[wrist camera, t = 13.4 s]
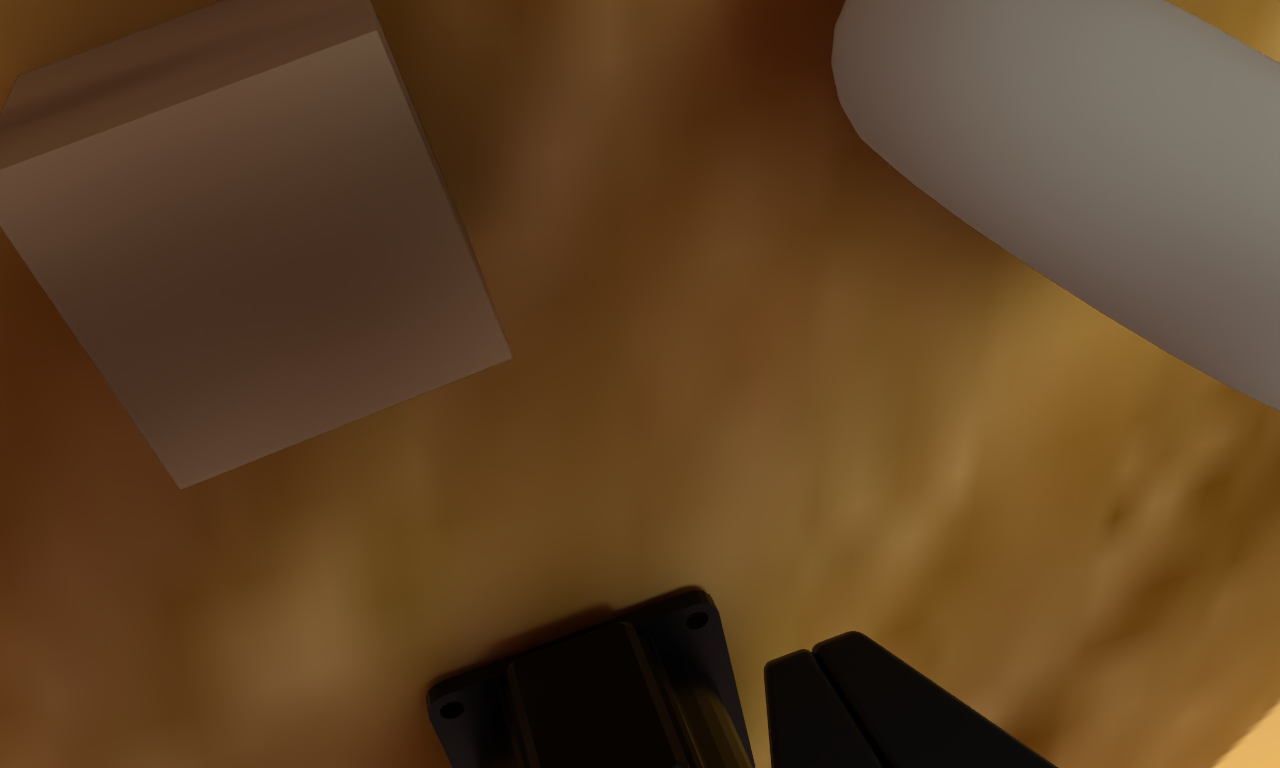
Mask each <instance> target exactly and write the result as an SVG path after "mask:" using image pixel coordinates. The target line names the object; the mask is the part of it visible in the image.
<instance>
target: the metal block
mask: <svg viewBox="0 0 1280 768" xmlns="http://www.w3.org/2000/svg"><path fill="white" fill-rule="evenodd" d="M0 227H1V228H2V230H3V231H4V233H5V234H6V236H7V237H8V238H9V240H10V241H11V243H12V244H13V246H14V247H15V249H16V250H17V252H18V253H19V255H20V256H21V258H22V259H23V260H24V262H25V263H26V265H27V266H28V268H29V269H30V271H31V272H32V274H33V275H34V277H35V278H36V280H37V281H38V282H39V284H40V285H41V287H42V288H43V290H44V291H45V293H46V294H47V296H48V297H49V299H50V300H51V301H52V303H53V304H54V306H55V307H56V309H57V310H58V312H59V313H60V315H61V316H62V318H63V319H64V321H65V322H66V323H67V325H68V326H69V328H70V329H71V331H72V332H73V334H74V335H75V337H76V338H77V340H78V341H79V343H80V344H81V345H82V347H83V348H84V350H85V351H86V353H87V354H88V356H89V357H90V359H91V360H92V362H93V363H94V364H95V366H96V367H97V369H98V370H99V372H100V373H101V375H102V376H103V378H104V379H105V381H106V382H107V384H108V385H109V386H110V388H111V389H112V391H113V392H114V394H115V395H116V397H117V398H118V400H119V401H120V403H121V404H122V406H123V407H124V408H125V410H126V411H127V413H128V414H129V416H130V417H131V419H132V420H133V422H134V423H135V425H136V426H137V428H138V429H139V430H140V432H141V433H142V435H143V436H144V438H145V439H146V441H147V442H148V444H149V445H150V447H151V448H152V449H153V451H154V452H155V454H156V455H157V457H158V458H159V460H160V461H161V463H162V464H163V466H164V467H165V469H166V470H167V471H168V473H169V474H170V476H171V477H172V479H173V480H174V482H175V483H176V485H177V486H178V488H179V489H180V490H182V489H184V488H187V487H189V486H192V485H194V484H197V483H199V482H202V481H204V480H207V479H209V478H212V477H214V476H217V475H220V474H222V473H225V472H227V471H230V470H232V469H235V468H237V467H240V466H242V465H245V464H247V463H250V462H252V461H255V460H257V459H260V458H262V457H265V456H267V455H270V454H273V453H275V452H278V451H280V450H283V449H285V448H288V447H290V446H293V445H295V444H298V443H300V442H303V441H305V440H308V439H310V438H313V437H315V436H318V435H320V434H323V433H326V432H328V431H331V430H333V429H336V428H338V427H341V426H343V425H346V424H348V423H351V422H353V421H356V420H358V419H361V418H363V417H366V416H368V415H371V414H373V413H376V412H379V411H381V410H384V409H386V408H389V407H391V406H394V405H396V404H399V403H401V402H404V401H406V400H409V399H411V398H414V397H416V396H419V395H421V394H424V393H426V392H429V391H432V390H434V389H437V388H439V387H442V386H444V385H447V384H449V383H452V382H454V381H457V380H459V379H462V378H464V377H467V376H469V375H472V374H474V373H477V372H479V371H482V370H485V369H487V368H490V367H492V366H495V365H497V364H500V363H502V362H505V361H507V360H510V359H512V358H513V356H512V354H511V351H510V348H509V346H508V343H507V340H506V337H505V335H504V332H503V329H502V327H501V324H500V321H499V319H498V316H497V313H496V310H495V308H494V305H493V302H492V300H491V297H490V294H489V292H488V289H487V286H486V283H485V281H484V278H483V275H482V273H481V270H480V267H479V265H478V262H477V259H476V256H475V254H474V251H473V248H472V246H471V243H470V240H469V238H468V236H467V233H466V231H465V228H464V226H463V223H462V221H461V219H460V216H459V214H458V211H457V209H456V207H455V204H454V202H453V199H452V197H451V194H450V192H449V190H448V187H447V185H446V182H445V180H444V177H443V175H442V173H441V170H440V168H439V165H438V163H437V161H436V158H435V156H434V153H433V151H432V148H431V146H430V144H429V141H428V139H427V136H426V134H425V131H424V129H423V127H422V124H421V122H420V119H419V117H418V114H417V112H416V110H415V107H414V105H413V102H412V100H411V98H410V95H409V93H408V90H407V88H406V85H405V83H404V81H403V78H402V76H401V73H400V71H399V68H398V66H397V64H396V61H395V59H394V56H393V54H392V51H391V49H390V47H389V44H388V42H387V39H386V37H385V35H384V32H383V30H382V27H381V25H380V22H379V20H378V18H377V15H376V13H375V10H374V8H373V5H372V3H371V1H370V0H223V1H220V2H217V3H215V4H212V5H209V6H206V7H204V8H201V9H198V10H196V11H193V12H190V13H187V14H185V15H182V16H179V17H176V18H174V19H171V20H168V21H166V22H163V23H160V24H157V25H155V26H152V27H149V28H146V29H144V30H141V31H138V32H136V33H133V34H130V35H127V36H125V37H122V38H119V39H116V40H114V41H111V42H108V43H106V44H103V45H100V46H97V47H95V48H92V49H89V50H86V51H84V52H81V53H78V54H76V55H73V56H70V57H67V58H65V59H62V60H59V61H56V62H54V63H51V64H48V65H46V66H43V67H40V68H37V69H35V70H32V71H29V72H26V73H24V74H21V75H18V77H17V79H16V81H15V83H14V86H13V88H12V90H11V92H10V94H9V96H8V99H7V101H6V103H5V105H4V107H3V110H2V112H1V114H0Z"/></svg>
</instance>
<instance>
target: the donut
mask: <svg viewBox="0 0 1280 768" xmlns="http://www.w3.org/2000/svg"><path fill="white" fill-rule="evenodd" d="M831 66H832V70H833V75H834V80H835V85H836V89H837V94H838V98H839V101H840V104H841V106H842V108H843V110H844V112H845V113H846V115H847V117H848V118H849V120H850V122H851V123H852V125H853V127H854V129H855V130H856V132H857V134H858V135H859V137H860V139H862V140H863V141H864V142H865V143H866V144H867V145H868V146H869V147H871V148H872V149H873V150H874V151H875V152H876V153H877V154H879V155H880V156H881V157H882V158H883V159H884V160H885V161H886V162H888V163H889V164H890V165H891V166H892V167H894V168H895V169H896V170H897V171H898V172H900V173H901V174H902V175H903V176H904V177H906V178H907V179H908V180H909V181H910V182H911V183H913V184H914V185H915V186H917V187H918V188H919V189H921V190H922V191H923V192H925V193H926V194H927V195H929V196H930V197H931V198H933V199H934V200H935V201H937V202H938V203H939V204H941V205H942V206H943V207H945V208H946V209H947V210H949V211H950V212H951V213H953V214H954V215H955V216H957V217H958V218H959V219H961V220H962V221H964V222H965V223H967V224H968V225H970V226H971V227H972V228H974V229H975V230H977V231H978V232H980V233H981V234H983V235H984V236H986V237H987V238H988V239H990V240H991V241H993V242H994V243H996V244H997V245H999V246H1000V247H1002V248H1003V249H1004V250H1006V251H1007V252H1009V253H1010V254H1012V255H1013V256H1015V257H1016V258H1018V259H1019V260H1021V261H1022V262H1023V263H1025V264H1026V265H1028V266H1030V267H1031V268H1033V269H1034V270H1036V271H1037V272H1039V273H1040V274H1042V275H1044V276H1045V277H1047V278H1048V279H1050V280H1051V281H1053V282H1054V283H1056V284H1058V285H1059V286H1061V287H1062V288H1064V289H1065V290H1067V291H1068V292H1070V293H1072V294H1073V295H1075V296H1076V297H1078V298H1079V299H1081V300H1082V301H1084V302H1086V303H1087V304H1089V305H1090V306H1092V307H1093V308H1095V309H1096V310H1098V311H1100V312H1101V313H1103V314H1105V315H1106V316H1108V317H1109V318H1111V319H1113V320H1114V321H1116V322H1118V323H1119V324H1121V325H1123V326H1124V327H1126V328H1128V329H1129V330H1131V331H1133V332H1134V333H1136V334H1138V335H1139V336H1141V337H1143V338H1144V339H1146V340H1148V341H1149V342H1151V343H1153V344H1154V345H1156V346H1158V347H1159V348H1161V349H1163V350H1164V351H1166V352H1168V353H1169V354H1171V355H1173V356H1174V357H1176V358H1178V359H1180V360H1182V361H1184V362H1185V363H1187V364H1189V365H1191V366H1193V367H1194V368H1196V369H1198V370H1200V371H1202V372H1203V373H1205V374H1207V375H1209V376H1211V377H1212V378H1214V379H1216V380H1218V381H1220V382H1222V383H1223V384H1225V385H1227V386H1229V387H1231V388H1233V389H1235V390H1237V391H1239V392H1241V393H1243V394H1245V395H1247V396H1249V397H1251V398H1253V399H1255V400H1257V401H1259V402H1261V403H1263V404H1266V405H1268V406H1270V407H1272V408H1274V409H1276V410H1279V411H1280V63H1278V62H1276V61H1275V60H1273V59H1271V58H1269V57H1268V56H1266V55H1264V54H1262V53H1260V52H1259V51H1257V50H1255V49H1253V48H1252V47H1250V46H1248V45H1246V44H1244V43H1243V42H1241V41H1239V40H1237V39H1236V38H1234V37H1232V36H1230V35H1229V34H1227V33H1225V32H1223V31H1221V30H1220V29H1218V28H1216V27H1214V26H1213V25H1211V24H1209V23H1207V22H1206V21H1204V20H1202V19H1200V18H1198V17H1196V16H1194V15H1192V14H1190V13H1188V12H1186V11H1184V10H1183V9H1181V8H1179V7H1177V6H1175V5H1173V4H1171V3H1169V2H1167V1H1165V0H846V1H845V3H844V5H843V8H842V10H841V13H840V15H839V17H838V20H837V22H836V25H835V27H834V38H833V48H832V58H831Z"/></svg>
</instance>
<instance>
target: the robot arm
mask: <svg viewBox="0 0 1280 768" xmlns="http://www.w3.org/2000/svg"><path fill="white" fill-rule="evenodd" d="M695 612H699V613H698V614H696V615H695V616H692V617H689V616H690V615H692V614H694V613H695ZM764 682H765V694H766V706H767V718H768V730H769V742H770V755H771V767H772V768H1058V767H1056V766H1055V765H1053V764H1052V763H1051V762H1049V761H1048V760H1046V759H1045V758H1043V757H1042V756H1040V755H1039V754H1037V753H1036V752H1035V751H1033V750H1032V749H1030V748H1029V747H1027V746H1026V745H1024V744H1023V743H1021V742H1020V741H1019V740H1017V739H1016V738H1014V737H1013V736H1011V735H1010V734H1008V733H1007V732H1005V731H1004V730H1003V729H1001V728H1000V727H998V726H997V725H995V724H994V723H992V722H991V721H989V720H988V719H987V718H985V717H984V716H982V715H981V714H979V713H978V712H976V711H975V710H973V709H972V708H971V707H969V706H968V705H966V704H965V703H963V702H962V701H960V700H959V699H957V698H956V697H955V696H953V695H952V694H950V693H949V692H947V691H946V690H944V689H943V688H941V687H940V686H939V685H937V684H936V683H934V682H933V681H931V680H930V679H928V678H927V677H925V676H924V675H923V674H921V673H920V672H918V671H917V670H915V669H914V668H912V667H911V666H909V665H908V664H907V663H905V662H904V661H902V660H901V659H899V658H898V657H896V656H895V655H893V654H892V653H891V652H889V651H888V650H886V649H885V648H883V647H882V646H880V645H879V644H877V643H876V642H875V641H873V640H872V639H870V638H869V637H867V636H866V635H864V634H862V633H860V632H856V631H850V632H846V633H843V634H841V635H838V636H835V637H833V638H830V639H827V640H825V641H822V642H819V643H817V644H816V645H814V647H813V648H812V653H811V652H810V651H809V650H806V649H801V650H798V651H795V652H792V653H790V654H787V655H784V656H782V657H779V658H776V659H774V660H771V661H769V662H767V663H766V665H765V667H764ZM454 701H456V703H454V704H450V705H445V704H447V703H449V702H454ZM426 702H427V708H428V714H429V719H430V721H431V723H432V725H433V727H434V729H435V731H436V733H437V736H438V738H439V740H440V742H441V744H442V746H443V748H444V750H445V752H446V754H447V756H448V758H449V760H450V763H451V765H452V767H453V768H755V763H754V759H753V755H752V751H751V746H750V742H749V738H748V734H747V729H746V725H745V721H744V717H743V713H742V708H741V704H740V700H739V696H738V691H737V687H736V683H735V679H734V674H733V670H732V666H731V662H730V657H729V653H728V649H727V645H726V640H725V636H724V632H723V628H722V623H721V619H720V615H719V612H718V610H717V608H716V606H715V604H714V601H713V600H712V598H711V596H710V595H709V594H707V593H706V592H704V591H692V592H687V593H684V594H682V595H679V596H676V597H673V598H671V599H668V600H665V601H662V602H660V603H657V604H654V605H651V606H649V607H646V608H643V609H640V610H637V611H635V612H632V613H629V614H626V615H624V616H621V617H618V618H615V619H613V620H610V621H607V622H604V623H602V624H599V625H596V626H593V627H591V628H588V629H585V630H582V631H580V632H577V633H574V634H571V635H568V636H566V637H563V638H560V639H557V640H555V641H552V642H549V643H546V644H544V645H541V646H538V647H535V648H533V649H530V650H527V651H524V652H522V653H519V654H516V655H513V656H511V657H508V658H505V659H502V660H499V661H497V662H494V663H491V664H488V665H486V666H483V667H480V668H477V669H475V670H472V671H469V672H466V673H464V674H461V675H458V676H455V677H453V678H450V679H447V680H444V681H442V682H440V683H438V684H436V685H434V686H433V687H432V688H431V689H430V690H429V691H428V694H427V697H426Z"/></svg>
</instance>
